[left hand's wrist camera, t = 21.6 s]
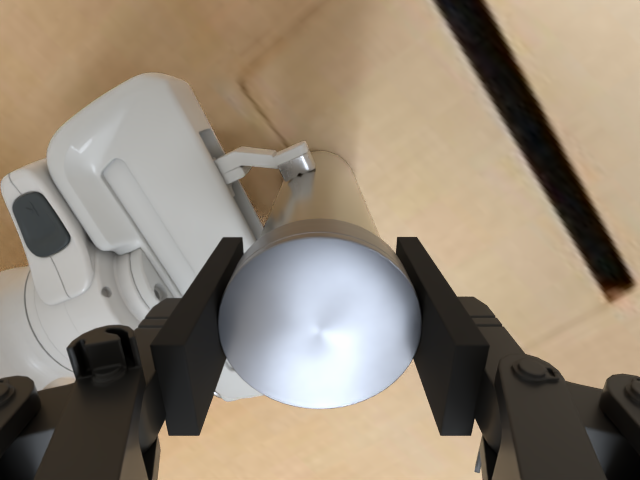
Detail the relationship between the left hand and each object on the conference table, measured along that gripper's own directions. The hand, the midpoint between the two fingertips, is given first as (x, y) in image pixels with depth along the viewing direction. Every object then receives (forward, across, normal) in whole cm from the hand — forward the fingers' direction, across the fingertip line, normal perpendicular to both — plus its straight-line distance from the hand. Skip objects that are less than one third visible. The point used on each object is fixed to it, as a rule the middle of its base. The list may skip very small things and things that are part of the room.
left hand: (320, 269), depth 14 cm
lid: (-4, 0, 0) cm, 4 cm away
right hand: (+7, -1, 0) cm, 7 cm away
